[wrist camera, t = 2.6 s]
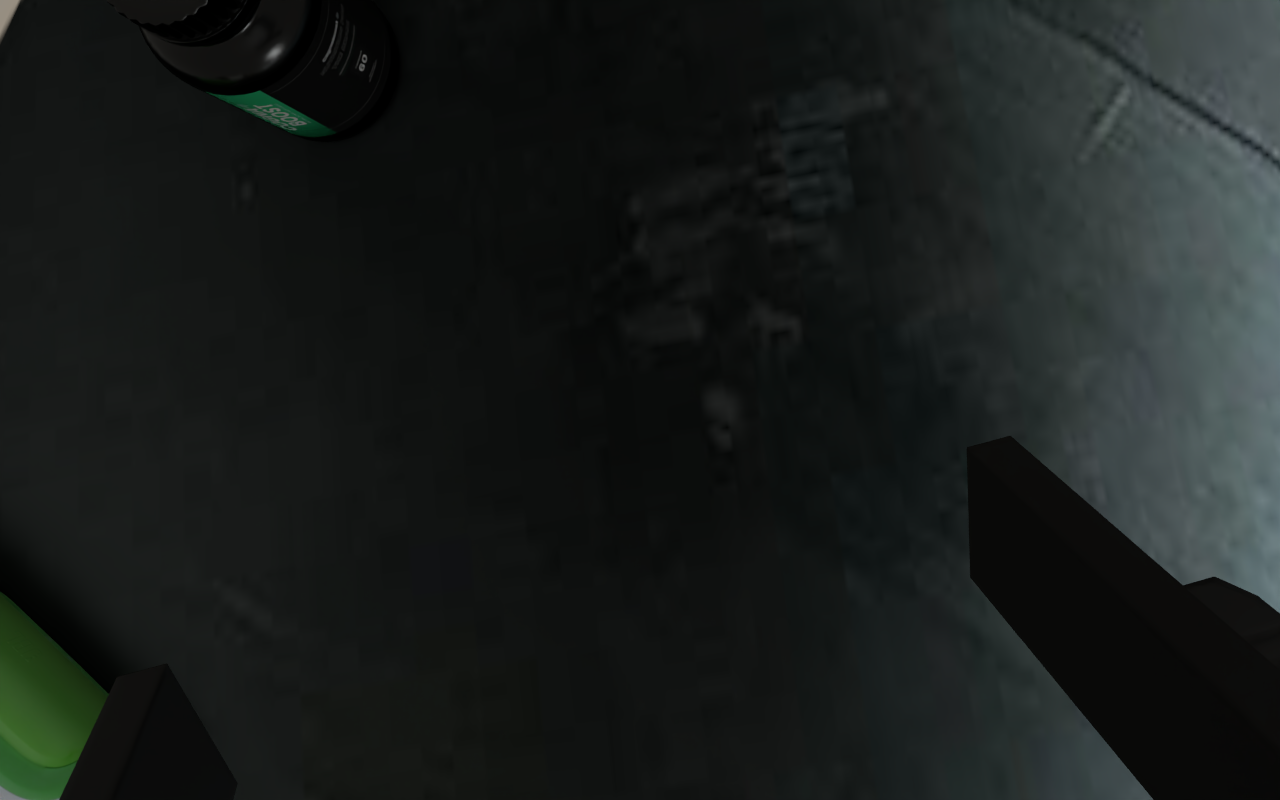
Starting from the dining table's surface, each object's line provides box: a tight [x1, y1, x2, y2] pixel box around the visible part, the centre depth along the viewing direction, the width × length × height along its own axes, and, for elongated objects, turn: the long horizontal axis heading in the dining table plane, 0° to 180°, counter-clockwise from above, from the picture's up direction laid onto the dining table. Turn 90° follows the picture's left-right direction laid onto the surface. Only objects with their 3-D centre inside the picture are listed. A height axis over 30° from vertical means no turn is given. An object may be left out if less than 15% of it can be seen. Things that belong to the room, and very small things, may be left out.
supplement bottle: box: [107, 0, 400, 142], centre depth 35 cm, size 7×7×12 cm
